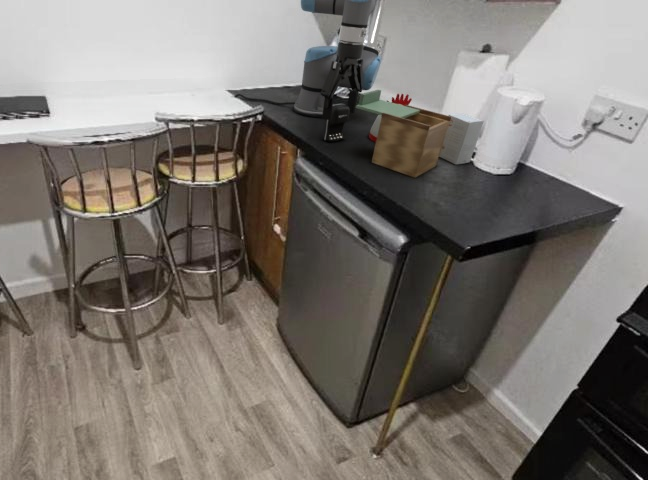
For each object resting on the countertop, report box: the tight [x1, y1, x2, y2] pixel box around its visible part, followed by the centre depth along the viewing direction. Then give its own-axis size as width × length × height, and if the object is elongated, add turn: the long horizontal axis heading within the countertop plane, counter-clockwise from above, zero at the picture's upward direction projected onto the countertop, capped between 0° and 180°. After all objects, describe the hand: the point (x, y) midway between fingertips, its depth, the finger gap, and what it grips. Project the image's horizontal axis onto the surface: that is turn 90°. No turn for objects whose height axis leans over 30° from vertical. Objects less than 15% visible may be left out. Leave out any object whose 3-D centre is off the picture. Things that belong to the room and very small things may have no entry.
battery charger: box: [323, 103, 350, 143], centre depth 146 cm, size 7×4×11 cm, turn 124°
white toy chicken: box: [368, 93, 413, 143], centre depth 150 cm, size 14×14×15 cm
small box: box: [439, 113, 485, 166], centre depth 138 cm, size 8×6×13 cm
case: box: [371, 104, 451, 179], centre depth 131 cm, size 14×14×15 cm
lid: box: [355, 89, 420, 118], centre depth 132 cm, size 14×13×4 cm
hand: (338, 115), depth 144 cm, fingers open, 13 cm apart
